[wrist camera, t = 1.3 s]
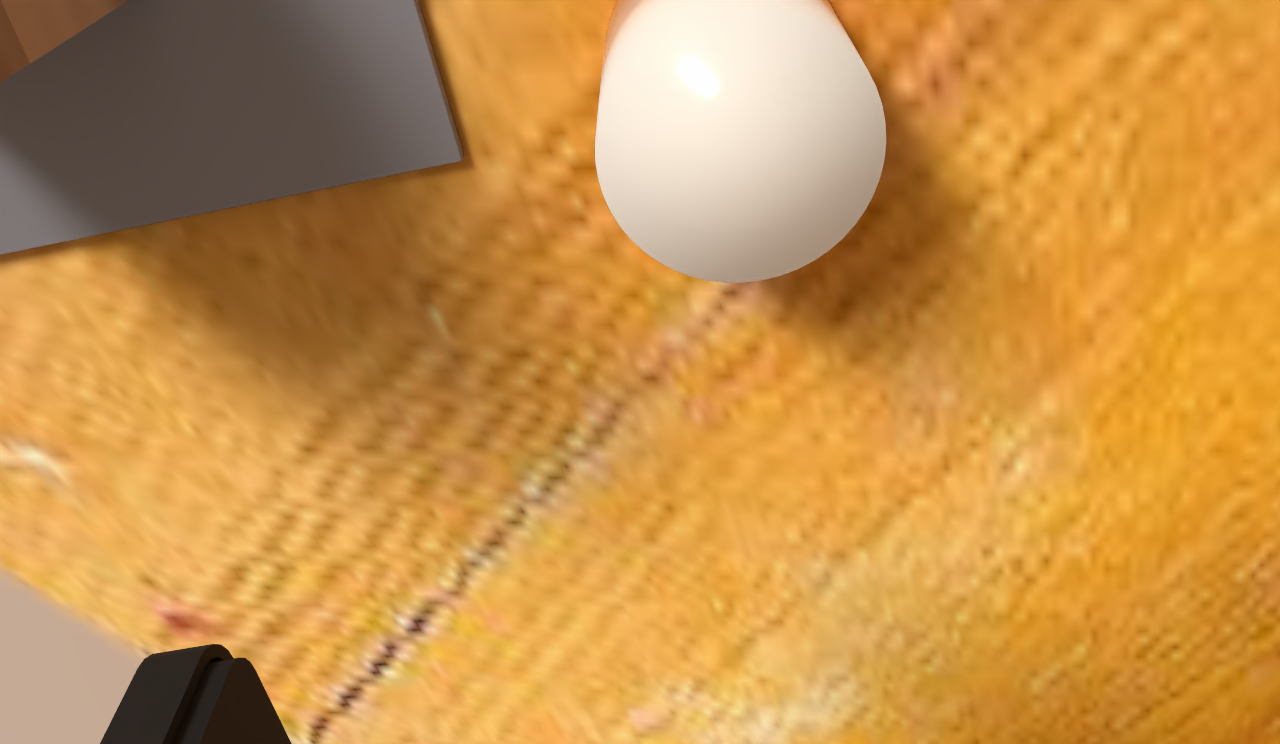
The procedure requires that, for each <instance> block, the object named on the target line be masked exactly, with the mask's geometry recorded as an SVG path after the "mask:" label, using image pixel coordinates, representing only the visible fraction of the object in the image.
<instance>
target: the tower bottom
mask: <svg viewBox="0 0 1280 744" xmlns="http://www.w3.org/2000/svg"><path fill="white" fill-rule="evenodd" d="M127 1H129V0H1V2H2V4H3V7H4V9H5V11H6V13H7V15H8V17H9V19H10V22H11V24H12V26H13V28H14V30H15V32H16V34H17V36H18V39H19V41H20V43H21V45H22V47H23V49H24V51H25V54H26V56H27V58H28V60H29V62H30V63H32V62H34V61H35V60H37V59H38V58H40V57H41V56H43V55H44V54H46V53H48V52H49V51H51V50H52V49H54V48H55V47H57V46H59V45H60V44H62V43H63V42H65V41H66V40H68V39H69V38H71V37H73V36H74V35H76V34H77V33H79V32H80V31H82V30H83V29H85V28H87V27H88V26H90V25H91V24H93V23H94V22H96V21H97V20H99V19H101V18H102V17H104V16H105V15H107V14H108V13H110V12H111V11H113V10H115V9H116V8H118V7H119V6H121V5H122V4H124V3H126V2H127Z"/></svg>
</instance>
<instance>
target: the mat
mask: <svg viewBox="0 0 1280 744" xmlns="http://www.w3.org/2000/svg"><path fill="white" fill-rule="evenodd" d="M463 156H464V153H463V150H462V147H461V143H460V140H459V137H458V133H457V130H456V127H455V123H454V120H453V116H452V113H451V110H450V106H449V103H448V100H447V96H446V93H445V89H444V86H443V83H442V79H441V76H440V73H439V69H438V66H437V63H436V59H435V56H434V52H433V49H432V46H431V42H430V39H429V36H428V32H427V29H426V25H425V22H424V19H423V15H422V12H421V9H420V5H419V2H418V0H129V1H127V2H126V3H124V4H122V5H121V6H119V7H118V8H116V9H115V10H113V11H111V12H110V13H108V14H107V15H105V16H104V17H102V18H101V19H99V20H97V21H96V22H94V23H93V24H91V25H90V26H88V27H87V28H85V29H83V30H82V31H80V32H79V33H77V34H76V35H74V36H73V37H71V38H69V39H68V40H66V41H65V42H63V43H62V44H60V45H59V46H57V47H55V48H54V49H52V50H51V51H49V52H48V53H46V54H44V55H43V56H41V57H40V58H38V59H37V60H35V61H34V62H32V63H30V64H29V65H27V66H26V67H24V68H23V69H21V70H20V71H18V72H16V73H15V74H13V75H12V76H10V77H9V78H7V79H6V80H4V81H2V82H1V83H0V255H1V254H6V253H11V252H16V251H21V250H26V249H30V248H35V247H40V246H45V245H50V244H55V243H60V242H65V241H70V240H75V239H80V238H85V237H90V236H95V235H99V234H104V233H109V232H114V231H119V230H124V229H129V228H134V227H139V226H144V225H149V224H154V223H159V222H164V221H168V220H173V219H178V218H183V217H188V216H193V215H198V214H203V213H208V212H213V211H218V210H223V209H228V208H232V207H237V206H242V205H247V204H252V203H257V202H262V201H267V200H272V199H277V198H282V197H287V196H292V195H297V194H301V193H306V192H311V191H316V190H321V189H326V188H331V187H336V186H341V185H346V184H351V183H356V182H361V181H366V180H370V179H375V178H380V177H385V176H390V175H395V174H400V173H405V172H410V171H415V170H420V169H425V168H430V167H434V166H439V165H444V164H449V163H454V162H459V161H462V158H463Z"/></svg>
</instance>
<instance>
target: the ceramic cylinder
mask: <svg viewBox="0 0 1280 744" xmlns="http://www.w3.org/2000/svg"><path fill="white" fill-rule="evenodd" d="M885 150H886V122H885V117H884V111H883V106H882V102H881V99H880V96H879V93H878V90H877V87H876V85H875V83H874V81H873V79H872V77H871V75H870V73H869V71H868V69H867V68H866V66H865V64H864V62H863V61H862V59H861V57H860V55H859V54H858V52H857V50H856V49H855V47H854V45H853V43H852V42H851V40H850V38H849V36H848V35H847V33H846V31H845V29H844V28H843V26H842V24H841V22H840V21H839V19H838V17H837V16H836V14H835V12H834V10H833V9H832V7H831V5H830V3H829V2H828V0H617V1H616V3H615V5H614V8H613V10H612V13H611V16H610V18H609V22H608V26H607V30H606V34H605V44H604V54H603V64H602V75H601V86H600V96H599V107H598V117H597V128H596V139H595V161H596V168H597V174H598V180H599V183H600V186H601V189H602V193H603V196H604V198H605V200H606V203H607V205H608V207H609V209H610V211H611V213H612V215H613V216H614V218H615V219H616V221H617V222H618V224H619V225H620V227H621V228H622V229H623V231H624V232H625V233H626V234H627V235H628V236H629V238H630V239H631V240H632V241H633V242H634V243H635V244H636V245H637V246H639V247H640V248H641V249H642V250H643V251H644V252H645V253H647V254H648V255H650V256H651V257H652V258H654V259H655V260H657V261H658V262H660V263H662V264H664V265H665V266H667V267H669V268H671V269H673V270H675V271H678V272H681V273H683V274H686V275H689V276H691V277H695V278H700V279H704V280H708V281H716V282H725V283H745V282H753V281H761V280H766V279H770V278H774V277H778V276H781V275H784V274H787V273H789V272H792V271H795V270H797V269H799V268H801V267H803V266H805V265H807V264H809V263H811V262H813V261H814V260H816V259H817V258H819V257H820V256H822V255H823V254H825V253H826V252H828V251H829V250H830V249H831V248H833V247H834V246H835V245H836V244H837V243H838V242H840V241H841V240H842V239H843V238H844V237H845V236H846V235H847V233H848V232H849V231H850V230H851V229H852V228H853V227H854V226H855V224H856V223H857V222H858V220H859V219H860V217H861V216H862V215H863V213H864V212H865V210H866V208H867V206H868V205H869V203H870V201H871V199H872V197H873V195H874V193H875V190H876V188H877V185H878V182H879V180H880V177H881V173H882V168H883V164H884V160H885Z"/></svg>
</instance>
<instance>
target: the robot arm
mask: <svg viewBox="0 0 1280 744" xmlns="http://www.w3.org/2000/svg"><path fill="white" fill-rule="evenodd" d="M100 744H291V742H290V740H289V738H288V736H287V734H286V732H285V730H284V728H283V725H282V723H281V721H280V719H279V717H278V715H277V713H276V711H275V709H274V707H273V705H272V703H271V701H270V699H269V697H268V695H267V693H266V691H265V689H264V687H263V685H262V683H261V681H260V678H259V676H258V674H257V672H256V670H255V669H254V667H253V665H252V664H251V662H250V661H248V660H247V659H246V658H235V659H234V658H233V657H232V655H231V654H230V652H229V651H228V650H227V649H226V648H225V647H223V646H222V645H218V644H211V645H205V646H199V647H193V648H187V649H181V650H174V651H168V652H162V653H156V654H152V655H150V656H148V657H147V658H145V659H144V660H143V662H142V663H141V664H140V666H139V667H138V669H137V671H136V673H135V675H134V677H133V679H132V681H131V683H130V685H129V687H128V689H127V691H126V693H125V695H124V697H123V699H122V701H121V703H120V705H119V707H118V709H117V711H116V713H115V715H114V717H113V719H112V721H111V723H110V725H109V727H108V729H107V731H106V733H105V735H104V737H103V739H102V741H101V743H100Z"/></svg>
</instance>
